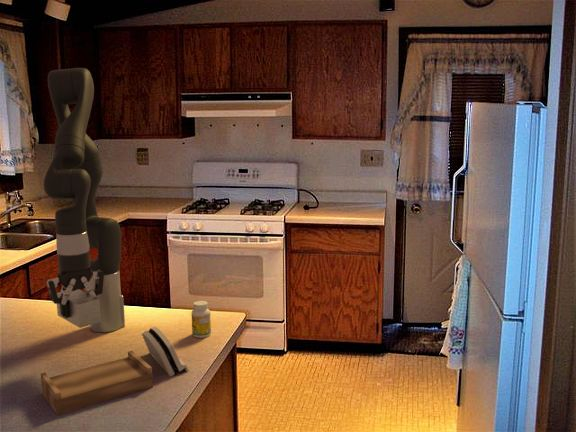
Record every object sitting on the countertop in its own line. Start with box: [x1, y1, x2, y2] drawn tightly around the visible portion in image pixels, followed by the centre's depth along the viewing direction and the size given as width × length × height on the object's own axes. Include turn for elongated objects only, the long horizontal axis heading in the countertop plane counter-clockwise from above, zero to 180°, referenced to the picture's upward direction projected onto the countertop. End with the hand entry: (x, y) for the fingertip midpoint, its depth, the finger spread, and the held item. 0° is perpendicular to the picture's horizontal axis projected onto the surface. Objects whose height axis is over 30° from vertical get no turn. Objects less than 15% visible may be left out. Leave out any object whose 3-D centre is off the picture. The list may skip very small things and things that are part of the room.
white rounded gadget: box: [141, 326, 190, 377], centre depth 158 cm, size 17×5×10 cm, turn 30°
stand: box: [40, 350, 154, 416], centre depth 143 cm, size 12×22×5 cm, turn 126°
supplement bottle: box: [191, 300, 212, 339], centre depth 176 cm, size 5×5×10 cm
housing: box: [56, 289, 101, 329], centre depth 154 cm, size 6×12×6 cm, turn 45°
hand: (78, 314), depth 154 cm, fingers closed on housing, 6 cm apart
